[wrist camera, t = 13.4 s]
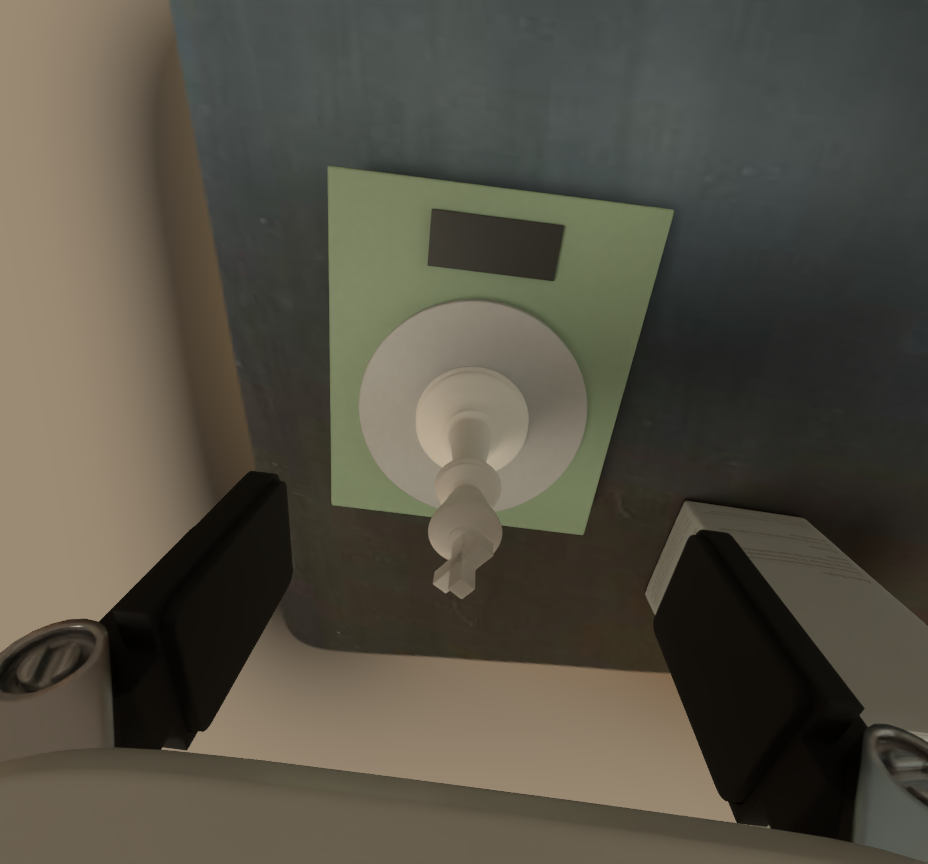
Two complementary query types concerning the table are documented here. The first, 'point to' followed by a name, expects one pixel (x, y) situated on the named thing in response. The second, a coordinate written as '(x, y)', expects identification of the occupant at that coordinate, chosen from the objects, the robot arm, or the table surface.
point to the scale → (481, 331)
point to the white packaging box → (824, 607)
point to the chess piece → (468, 465)
